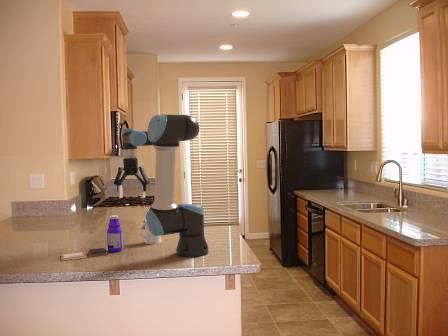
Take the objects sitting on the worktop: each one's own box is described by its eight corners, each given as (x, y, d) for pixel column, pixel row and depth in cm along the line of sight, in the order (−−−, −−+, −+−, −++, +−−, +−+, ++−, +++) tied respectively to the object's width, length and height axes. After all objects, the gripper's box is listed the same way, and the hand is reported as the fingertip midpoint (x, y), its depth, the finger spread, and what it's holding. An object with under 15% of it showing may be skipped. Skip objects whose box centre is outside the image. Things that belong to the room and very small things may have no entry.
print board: (86, 257, 211) (86, 256, 211) (61, 260, 207) (61, 258, 207) (85, 252, 221) (85, 251, 221) (61, 255, 217) (61, 253, 217)
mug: (142, 245, 232) (141, 222, 232) (137, 242, 240) (136, 220, 239) (163, 242, 238) (163, 220, 237) (158, 239, 246) (157, 217, 245)
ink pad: (107, 254, 215) (107, 251, 215) (90, 256, 212) (89, 253, 212) (105, 250, 223) (105, 247, 223) (88, 252, 221) (88, 249, 221)
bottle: (123, 249, 226) (122, 214, 225) (121, 252, 220) (120, 216, 219) (109, 249, 225) (107, 215, 225) (106, 252, 220) (104, 217, 219)
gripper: (154, 156, 239) (156, 196, 240) (113, 158, 247) (115, 196, 248) (148, 157, 232) (150, 198, 233) (105, 158, 240) (107, 198, 241)
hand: (132, 197), depth 241 cm, fingers open, 13 cm apart
